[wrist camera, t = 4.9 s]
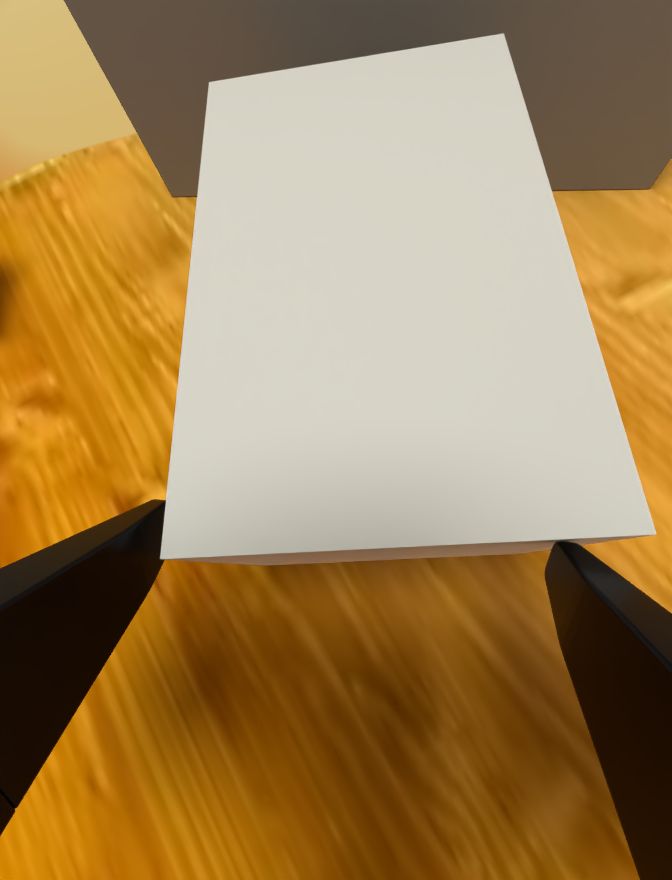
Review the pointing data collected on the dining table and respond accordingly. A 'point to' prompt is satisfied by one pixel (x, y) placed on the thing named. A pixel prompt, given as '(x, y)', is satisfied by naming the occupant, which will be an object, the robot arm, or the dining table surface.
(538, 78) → the charcoal board
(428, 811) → the dining table surface
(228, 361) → the white block
